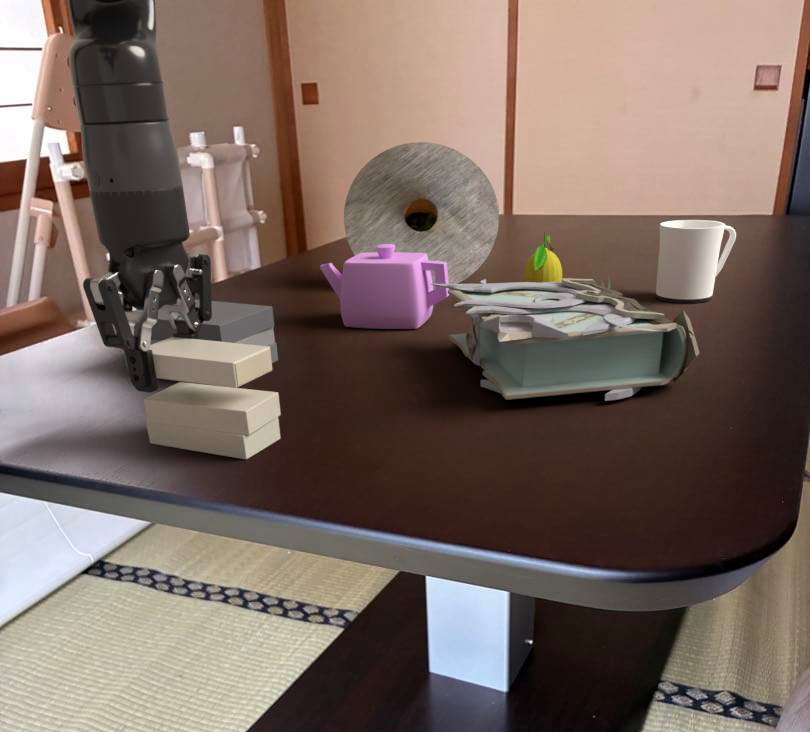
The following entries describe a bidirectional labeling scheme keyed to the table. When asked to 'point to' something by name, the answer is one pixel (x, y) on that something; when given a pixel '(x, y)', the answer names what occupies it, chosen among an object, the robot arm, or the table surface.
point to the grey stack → (225, 326)
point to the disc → (424, 207)
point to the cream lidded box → (213, 419)
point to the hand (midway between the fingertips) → (169, 380)
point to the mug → (690, 259)
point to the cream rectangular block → (210, 361)
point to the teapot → (387, 288)
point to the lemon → (543, 265)
